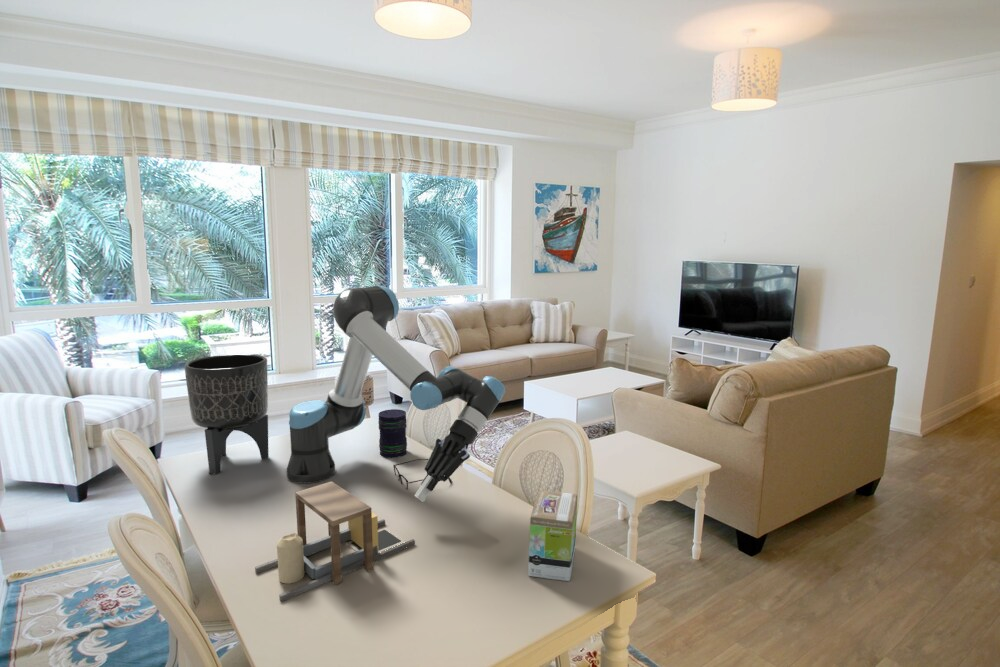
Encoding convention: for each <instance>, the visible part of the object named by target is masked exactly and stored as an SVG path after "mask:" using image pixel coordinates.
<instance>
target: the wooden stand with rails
mask: <svg viewBox="0 0 1000 667" xmlns="http://www.w3.org/2000/svg"><path fill="white" fill-rule="evenodd" d="M294 494H295V509H296V510H295V512H296V530H297V535H298V536H300V537H301V538H302V539H303V545H306V544H308V542H307V527H306V526H307V525H306V524H307V523H306V522H307V521H306V508H305V506H306V507H307V508H308V509H310V510H312V512H314V513H315V514H317V515H318V516H319V517H321V518H322V519H323V520H324V521H325V522H327V526H328V527H327V528H328V529H327V530H328V536H330V538H331V547H330V554H331V556H330V558H331V561H332V573H330V574H328V575H326V576H323V577H321V578H318V579H313V580H311V581H309V582H306V583H304V584H301V585H299V586H297V587H295V588H294V587H293V588H292V589H290V590H287V591H285V592H283V593H280V594H279V601H280V602H284V601H286V600H288V599H290V598H293V597H296V596H297V595H300V594H302V593H304V592H305V593H306V592H307V591H309V590H312V589H314V588H317V587H319V586H321V585H323V584H326V583H328V582H331V581H332V583H333V584H334V585H335V586H337V585H339V584H341V583H343V581H342V580H343V578H342V577H343V576H344V575H347V574H349V573H351V572H354V571H357V570H359V569H361V568H363V567H364V568H363V569H364V570H366V571H367V572H369V571H371V570H374V563H375V562H378V561H380V560H382V559H384V557H385V558H387V557H389V556H391V554H392V555H394V554H396V552H397V553H399V552H401V551H404V550H405V549H404V548H406V547H408V548H410V547H409V546H411V545H413V546H415V545H416V540H415V539H413V538H412V539H409V540H407V541H406V542H405V543H402V544H400V545H398V546H395V547H393V548H390V549H388V550H386V551H383V552H381V553H378V554H376V555H374V556H373V541H372V513H373V511H372V507H371V506H370V505H368V504H366V503H365V502H363V501H362V500H360V499H359V498H358V497H356V496H355V495H353V494H351V493H350V492H348V491H347V490H346V489H344V488H342V487H341V486H340V485H338V484H336V483H335V482H333V481H329V482H326V483H321V484H318V485H314V486H312V487H309V488H304V489H302V490H299V491H296V492H295V493H294ZM361 516H363V543H364V560H362V561H359V562H357V563H354V564H352V565H350V566H347V567H345V568H342V569H341V557H342V556H341V555H342V554H341V553H342V552H341V543H340V532H341V530H340V529H341V528H340V524H341V525H342V524H343V523H348V521H349V520H352V519H355V518H358V517H361ZM384 524H385V525H386V520H385V519H381V520H378V528H379V526H380V527H382V525H383V526H385V525H384ZM414 544H415V545H414ZM411 547H412V546H411ZM403 549H404V550H403ZM406 549H407V548H406ZM400 550H401V551H400ZM398 551H399V552H398ZM393 553H394V554H393ZM274 567H278V558H276V559H273V560H270V561H268V562H265V563H262V564H261V565H257V566H255V568H254V570H255V573H256V574H259V573H261V572H264V571H267V570H269V569H271V568H274Z"/></svg>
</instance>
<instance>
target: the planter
mask: <svg viewBox="0 0 1000 667" xmlns="http://www.w3.org/2000/svg"><path fill="white" fill-rule="evenodd" d="M184 374H185V382H186V390H187V395H188V404H189V410H190V418H191V421H192V423H194V425H196V426H198V427H201V428H205V429H204V437H205V445H206V446H205V447H206V453H207V455H206V456H207V463H208V473H209V474H210V475H218V474H220V473H222V472H221V471H222V470H221V467H222V466H221V465H222V456H225V455H227V439H228V437H229V436H230V435H231V433H233V432H235V431H236V432H237V431H238V432H242V433H245V434H246V435H247V436H250V438H252V439H253V441H254V442H255V444H256V445H257V448H258V450H259V455H260V459H261V461H262V460H268V459H269V457H270V456H269V414H268V410H269V399H268V397H269V395H268V394H269V392H268V386H269V385H268V384H269V382H268V358H267V357H265V356H263V355H259V354H249V353H248V354H247V353H246V354H245V353H236V354H234V353H232V354H231V353H230V354H219V355H212V356H211V355H210V356H206V357H200V358H195V359H193V360H192V359H191V360H189V361H188V362H185V364H184Z"/></svg>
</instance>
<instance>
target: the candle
mask: <svg viewBox="0 0 1000 667" xmlns="http://www.w3.org/2000/svg"><path fill="white" fill-rule="evenodd" d="M276 555H277V557H276V558H277V559H278V566H277V568H278V569H277V573H278V580H279V582H280V583H283V584H286V585H288V584H294V583H297V582H299V581H301V580H302V579H303V578H304V577H305V571H304V554H303V539H302V538H301V537H300V536H298V533H295V532H293V533H290V534H288V535H284V536H282V537H280V539H279V540H278V541H277V543H276Z"/></svg>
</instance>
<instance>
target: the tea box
mask: <svg viewBox="0 0 1000 667" xmlns="http://www.w3.org/2000/svg"><path fill="white" fill-rule="evenodd" d="M577 514H578V494H577V493H569V492H561V491H560V492H559V491H548V490H538V492H537V495H536V499H535V502H534V505H533V508H532V511H531V514H530V517H529V520H530V521H529V523H530V524H529V546H528V548H529V549H528V569H527V570H528V573H527V574H528V577H534V578H541V579H548V580H556V581H565V582H570V580H571V576H572V571H573V563H574V556H575V550H576V543H577V542H576V540H577V539H576V537H577V516H578V515H577Z"/></svg>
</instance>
